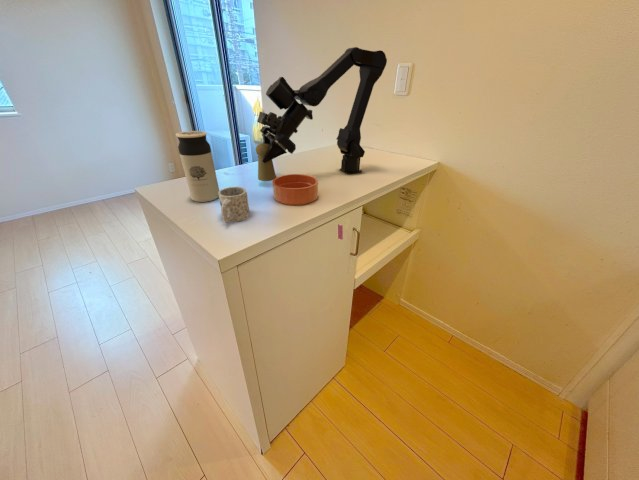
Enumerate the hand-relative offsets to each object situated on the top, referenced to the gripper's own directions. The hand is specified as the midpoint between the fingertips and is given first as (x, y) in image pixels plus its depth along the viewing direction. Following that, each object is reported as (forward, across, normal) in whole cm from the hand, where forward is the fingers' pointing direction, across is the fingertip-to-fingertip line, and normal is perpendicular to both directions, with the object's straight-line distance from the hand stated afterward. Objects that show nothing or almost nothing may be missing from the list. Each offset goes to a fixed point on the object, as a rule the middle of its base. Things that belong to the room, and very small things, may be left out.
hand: (261, 160), depth 83 cm
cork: (+4, 0, +6) cm, 7 cm away
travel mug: (+19, +4, -8) cm, 21 cm away
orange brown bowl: (+2, +15, +10) cm, 18 cm away
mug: (+16, +22, -4) cm, 27 cm away
